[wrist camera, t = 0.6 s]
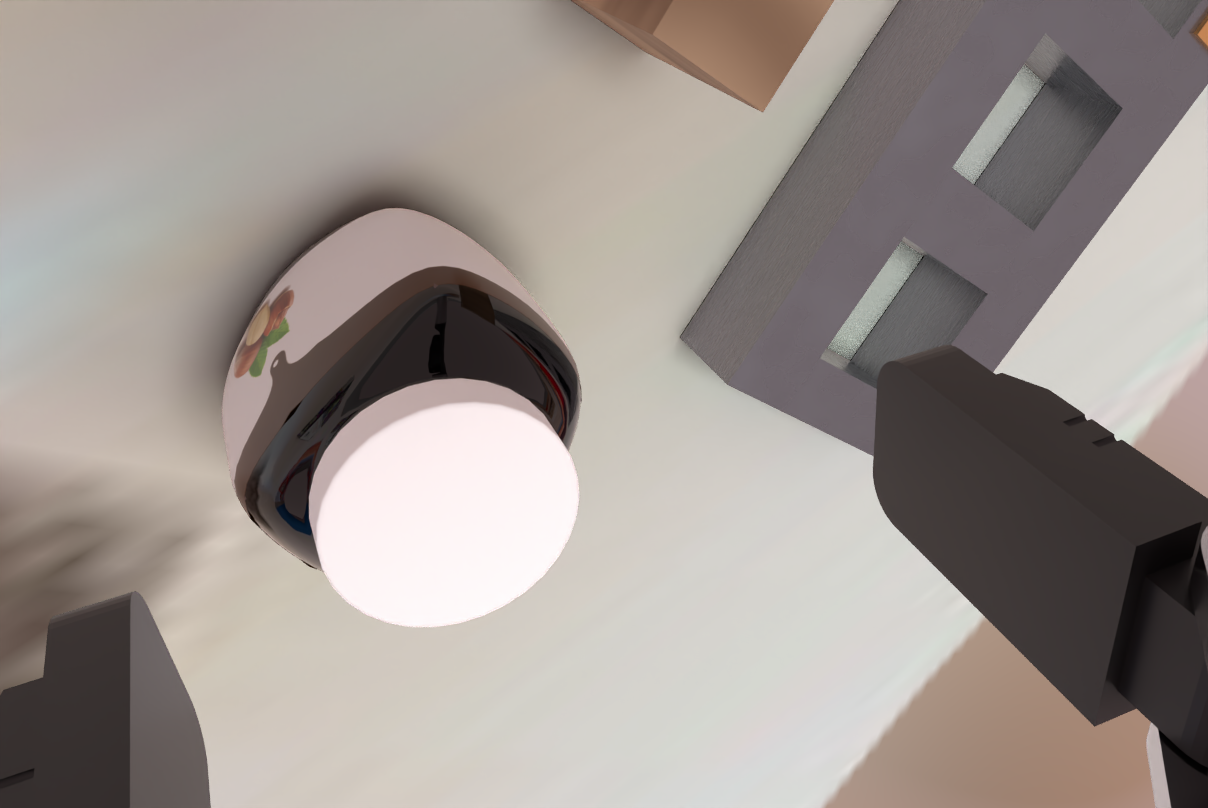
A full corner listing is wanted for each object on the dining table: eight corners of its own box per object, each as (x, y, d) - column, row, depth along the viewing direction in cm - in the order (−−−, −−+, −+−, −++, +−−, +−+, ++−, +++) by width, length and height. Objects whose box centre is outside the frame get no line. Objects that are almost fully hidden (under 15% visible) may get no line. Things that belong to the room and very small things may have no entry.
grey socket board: (1110, -323, 35) (1216, -334, 31) (1255, -120, 41) (1358, -111, 37) (680, 337, 41) (730, 387, 38) (861, 429, 47) (918, 479, 44)
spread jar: (379, 146, 33) (479, 288, 24) (607, 340, 40) (755, 511, 31) (139, 422, 35) (144, 658, 25) (398, 565, 41) (478, 795, 32)
